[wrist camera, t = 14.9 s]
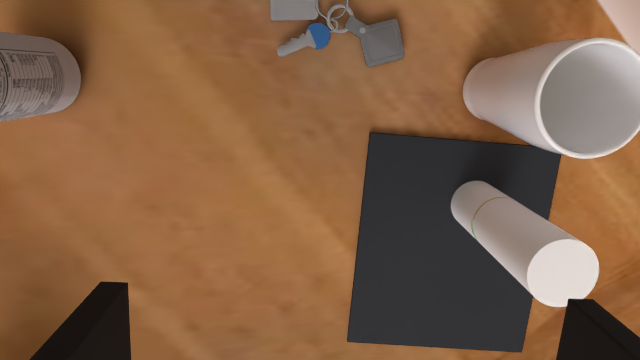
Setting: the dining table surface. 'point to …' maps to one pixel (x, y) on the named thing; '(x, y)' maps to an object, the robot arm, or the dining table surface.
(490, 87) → the drinking glass
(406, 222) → the charcoal mat
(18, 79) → the energy drink can
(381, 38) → the key chain
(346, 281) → the dining table surface
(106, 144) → the dining table surface
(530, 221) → the tube
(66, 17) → the dining table surface
